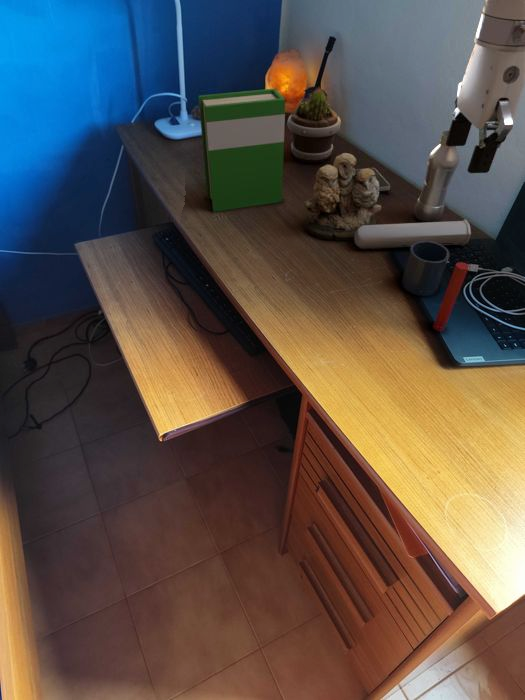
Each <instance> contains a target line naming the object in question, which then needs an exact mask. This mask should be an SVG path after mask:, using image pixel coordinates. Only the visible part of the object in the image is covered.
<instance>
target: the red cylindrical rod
mask: <svg viewBox="0 0 525 700" xmlns="http://www.w3.org/2000/svg"><path fill="white" fill-rule="evenodd" d="M469 268H470V267H469V265H468V263H466V262H462V261H458V262H457V263H456V264H455V265H454V268H453V271H452V274H451V277H450V279H449V283H448V284H447V288H446V290H445V293H444V296H443V299H442V301H441V303H440V307H439V309H438V312H437V314H436V317H435V319H434V322H435V323H434V322H433V325H432V328H433V330H434V331H436V332H443V331H444V330H445V329H446V326H447V323H448V321H449V318H450V316H451V313H452V311H453V308H454V306H455V304H456V301H457V298H458V295H459V293H460V291H461V288H462V286H463V283H464V280H465V279H466V275H467V273H468V270H469ZM437 326H439V327H437ZM444 326H445V327H444ZM440 327H443V328H440Z"/></svg>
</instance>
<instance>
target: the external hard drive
mask: <svg viewBox="0 0 525 700" xmlns="http://www.w3.org/2000/svg"><path fill="white" fill-rule="evenodd" d="M362 169H363V168H357V169H354V170H355V174H356V173H357V172H359V171H360V170H362ZM366 169H371V170H373V171H374V173H375V176H376V180H377V181H378V182H379V194H386V193H387V194H388V193H389V192H390V189H391V185H390V183H389V182H388V181H387V180H386V179H385V177H384V176H382V175H381V173H380V172H379V171H378V170H377V169H376V168H375V167H367V168H366Z"/></svg>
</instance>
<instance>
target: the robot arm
mask: <svg viewBox="0 0 525 700" xmlns="http://www.w3.org/2000/svg"><path fill="white" fill-rule="evenodd" d="M473 42H474V46H473V49H472V51H471V55H470V57H469V60H468V63H467V65H466V69H465V71H464V74H463V78H462V81H461V82H459V83H458V85H457V94H456V97H457V98H455V101H454V105H455V106H454V107H455V110H454V111H453V112H452V116H451V118H452V120H451V123H450V127H449V130H448V131H449V133H448V137H447V140H446V145H447V146H456V147H464V146H466V144H467V140H468V137H469V135H470V131H471V129H472V125H473V126H474V127H475V128H476V129H478V145H475V146H474V148H473V152H472V155H471V158H470V161H469V164H468V166H467V172H468V173H469V174H487V173H489V172H490V169H491V167H492V164H493V161H494V159H495V156H496V154H497V151H498V149H499V148H500V147H501V146H502V144H503V143H504V142H505V141H506V139H507V136H508V135H509V134H510V132H511V131H512V130H513V128H514V121H513V120H514V118H515V115H516V112H517V109H518V106H519V103H520V100H521V97H522V93H523V91H524V87H525V0H485V1H484V5H483V8H482V12H481V16H480V18H479V23H478V26H477V29H476V33H475V37H474V39H473ZM491 122H492V123H491ZM488 131H493V132H491V134H489V135H488V133H487V132H488Z"/></svg>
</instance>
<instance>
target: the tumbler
mask: <svg viewBox="0 0 525 700" xmlns="http://www.w3.org/2000/svg"><path fill="white" fill-rule="evenodd" d="M409 248H410V249H409V252H408V256H407V260H406V263H405V267H404V270H403V274H402V276H401V286H402V287H403V289H405V290H406V291H407V292H408V293H411V294H412V295H416V296H421V297H427V296H431V295H433V294H436V292H437V291H438V289H439V288H440V284H441V282H442V279H443V276H444V273H445V271H446V267H447V265H448V262H449V259H450V251H449V250H448V248H447V247H446V246H445V245H441V244H438V243H435V242H431V241H419V242H417V243H414V244H413V245H412V246H411V247H409ZM435 289H436V290H435ZM433 290H434V291H433ZM420 291H422V292H420ZM428 291H431V292H428Z"/></svg>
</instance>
